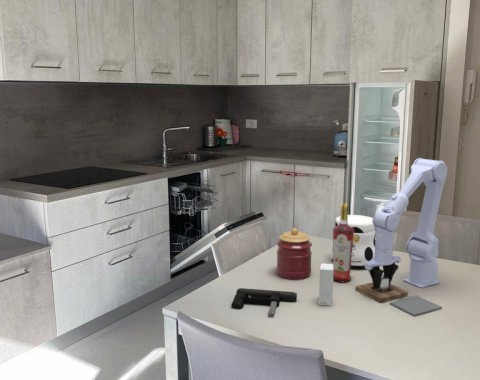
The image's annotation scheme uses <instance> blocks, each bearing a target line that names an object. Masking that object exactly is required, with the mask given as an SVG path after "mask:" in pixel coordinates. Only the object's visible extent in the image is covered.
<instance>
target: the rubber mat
mask: <svg viewBox="0 0 480 380" xmlns="http://www.w3.org/2000/svg"><path fill="white" fill-rule="evenodd" d="M389 305H391V306H392V307H394V308H396V309H398V310H400V311H403V312H404V313H406V314H407V315H408V314H409V316H412V317H417V316H422V315H425V314H429V313H432V312H435V311H439V310H442V309H443V306H441V305H440V304H439V305H438V304H436V303H434V302H432V301H430V300H428V299H425V298H423V297H421V296H419V295H414V296H411V297H410V296H409V297H405V298H403V299H402V298H401V299H397V300H395V301H394V300H393V301H389Z"/></svg>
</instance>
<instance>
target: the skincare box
mask: <svg viewBox="0 0 480 380" xmlns="http://www.w3.org/2000/svg"><path fill="white" fill-rule="evenodd" d="M333 270H334V268H333V263H320V268H319V287H318V288H319V289H318V305H319V306H332V305H333V293H334V292H333V291H334V289H333V288H334V287H333V286H334V278H333Z"/></svg>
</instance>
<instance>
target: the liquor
mask: <svg viewBox="0 0 480 380" xmlns="http://www.w3.org/2000/svg"><path fill="white" fill-rule="evenodd" d="M348 212H349V203H346V202H345V203H344V202H343V203H340V215H339V216H340V224H339V225H338V226H336V227H335V226H334V227H333V228H332V247H333V255H332V259H333V263H332V264H333V268H334V270H333V280H335V281H337V282H339V283H340V282H341V283H345V282H348V281H349V280H350V279H352V276H351V268H352V267H351V256H352V247H353V236H354V229H353V228H352V227H350V226H348V217H347V215H348Z"/></svg>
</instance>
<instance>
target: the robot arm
mask: <svg viewBox="0 0 480 380" xmlns="http://www.w3.org/2000/svg"><path fill="white" fill-rule="evenodd" d="M447 175H448V167H447V165H446V163H445V162H444V161H443V160H435V159H427V158H426V159H425V158H422V157H418V158H416V159H415V160H414V162H413V164H412V165H411V166H410V174H409V176H408V177H407V178H406V179H407V180H405V182H404V184H403V185H402V187H401V189H400V191H399V192H397V193H393V194H392V196H391V197H390V199H388V201H387V203H386V204H385V205H384V207H383V208H382V209H381V210H379V211H377V212H376V213H375V214H374V216H373V217H372V218H373V219H372V222H373V225H374V227H375V230H374V231H375V232H376V235H375V257H373V259H372V260H371V261H369V262H366V263H365V267H364V269H365V270H367V271H368V272H369V275H370V278H371V282H373V286H374V287H375V288H377V289H378V288H380V282H381V277H382V275H385V276H388V277H389V286H390V284H392V281H393V278H394V275H395V273H397V271H398V269H399V265H398V264H401V261H402V260H401V259H402V257H401V256H398V255H393V253H394V237H395V236H394V235H395V230H396V229H397V228H398V227H399V224H400V220H401V215H402V214H403V212H404V211H405V209H407V207H408V206H409V203H410V202H409V199H410V197H411V196H412V194H413V193H414V192H415V191H416V190H417V189H418V187H419V186H420V185H421V184H422V183H423V184H424V186H425V187H426V188H425V190H424V194H423V195H424V196H423V199H422V205H421V211H420V214H419V218H418V224H417V229H416V230H415V231H413V232H411V233H410V235H409V238H408V240H407V241H406V244H405V251H406V253H407V254H408V257H409V259H410V261H409V276H408V277H406V278H403V281H404V282H406V283H408V284H411V285H413V286H415V287H417V288H425V287H428V286H432V285H437V284H439V283H440V281H438V276H439V275H438V273H439V263H438V260H437V259H436V258H437V257H438V255H439V243H440V242H439V241H440V240H439V239H438V237H436V235H435V234H434V230H435V226H436V221H437V215H438V212H439V207H440V203H441V197H442V193H443V188H444V186H445V185H446V184H445V183H446V178H447ZM396 263H397V264H396ZM380 267H382V269H381V268H380Z"/></svg>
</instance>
